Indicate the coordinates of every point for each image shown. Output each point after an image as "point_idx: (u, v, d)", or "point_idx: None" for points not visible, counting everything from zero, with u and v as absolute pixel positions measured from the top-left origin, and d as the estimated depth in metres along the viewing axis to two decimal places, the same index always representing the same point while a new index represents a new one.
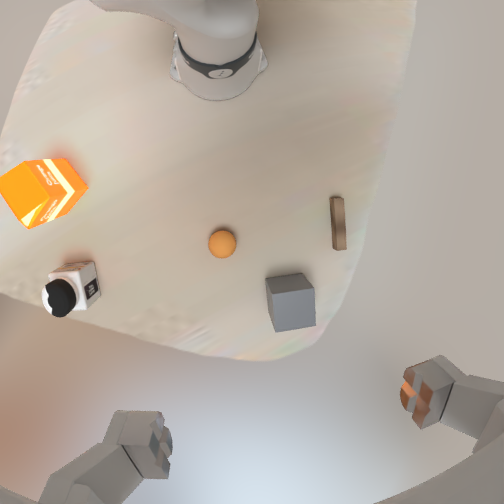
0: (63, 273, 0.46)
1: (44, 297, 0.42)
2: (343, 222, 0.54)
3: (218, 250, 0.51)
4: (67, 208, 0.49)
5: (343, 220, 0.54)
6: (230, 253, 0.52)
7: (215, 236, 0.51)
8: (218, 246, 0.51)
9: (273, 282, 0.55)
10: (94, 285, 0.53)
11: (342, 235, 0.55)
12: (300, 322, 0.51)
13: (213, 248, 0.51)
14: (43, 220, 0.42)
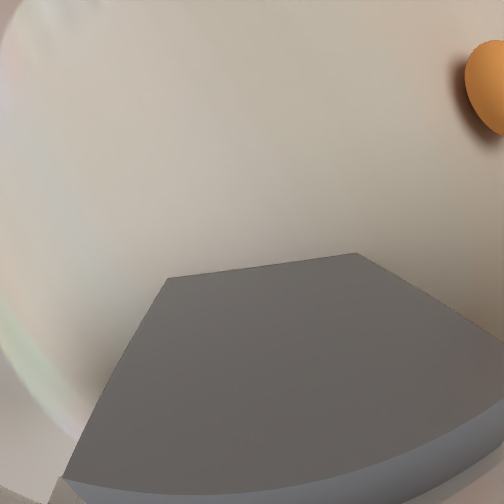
0: None
1: None
2: None
3: None
4: None
5: None
6: None
7: None
8: None
9: None
10: None
11: None
12: None
13: None
14: None
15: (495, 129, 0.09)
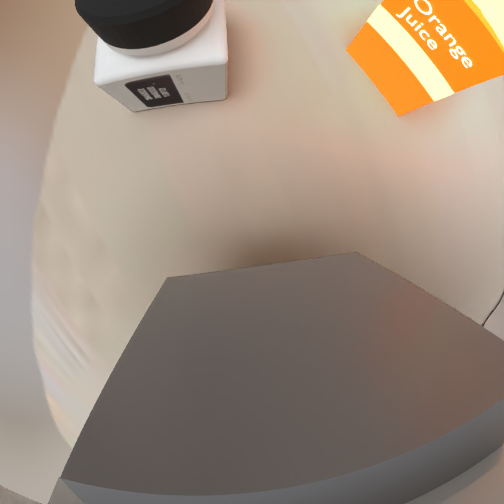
0: (222, 12, 0.12)
1: None
2: None
3: None
4: (371, 58, 0.18)
5: None
6: None
7: None
8: None
9: None
10: (163, 98, 0.18)
11: None
12: None
13: None
14: (402, 1, 0.10)
15: None
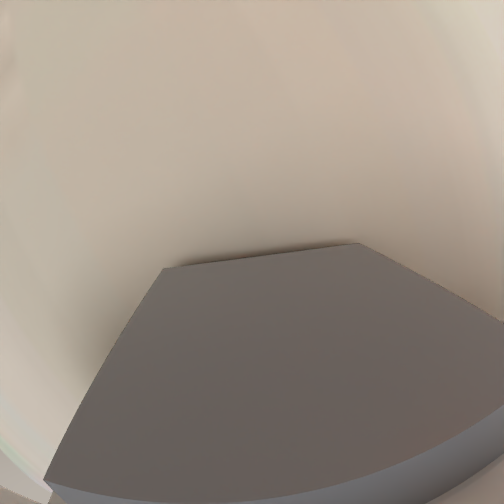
0: None
1: None
2: None
3: None
4: None
5: None
6: None
7: None
8: None
9: None
10: None
11: None
12: None
13: None
14: None
15: None
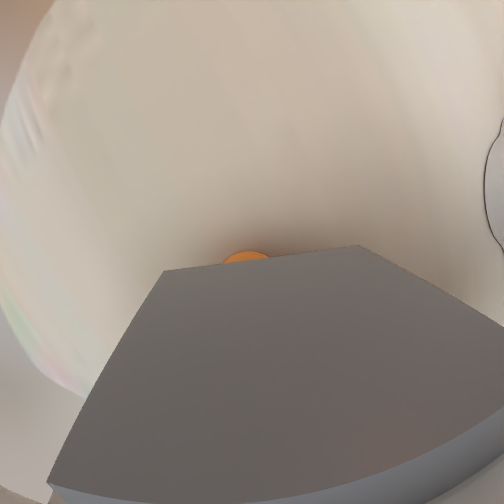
0: None
1: None
2: None
3: None
4: None
5: None
6: None
7: None
8: None
9: None
10: None
11: None
12: None
13: None
14: None
15: None
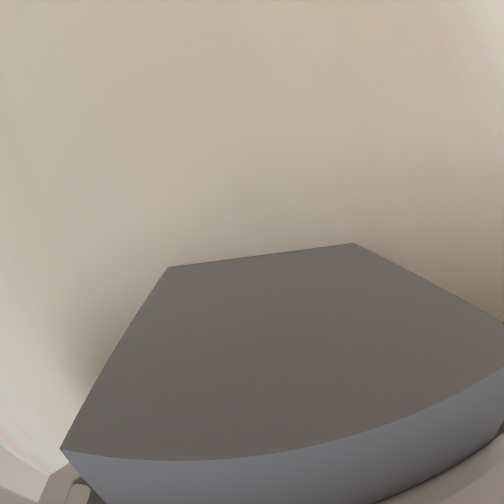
0: None
1: None
2: None
3: None
4: None
5: None
6: None
7: None
8: None
9: None
10: None
11: None
12: None
13: None
14: None
15: None
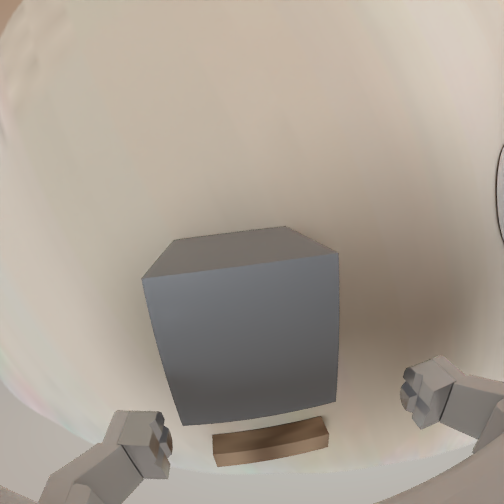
0: None
1: None
2: (277, 456, 0.21)
3: None
4: None
5: (281, 455, 0.21)
6: None
7: None
8: None
9: None
10: None
11: (248, 458, 0.21)
12: (196, 377, 0.11)
13: None
14: None
15: None
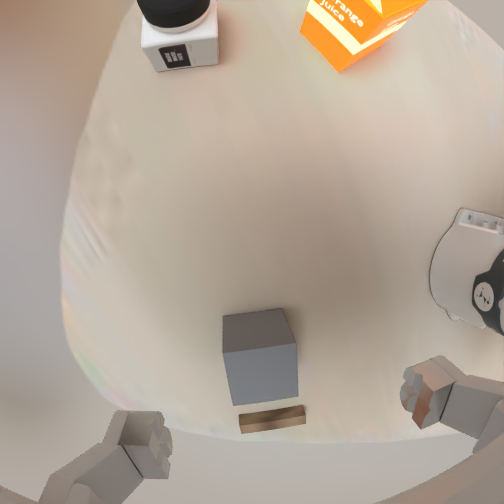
0: (214, 10, 0.21)
1: None
2: (275, 427, 0.39)
3: None
4: (314, 34, 0.27)
5: (278, 426, 0.39)
6: None
7: None
8: None
9: None
10: (178, 61, 0.27)
11: (259, 428, 0.38)
12: (240, 386, 0.29)
13: None
14: None
15: None
